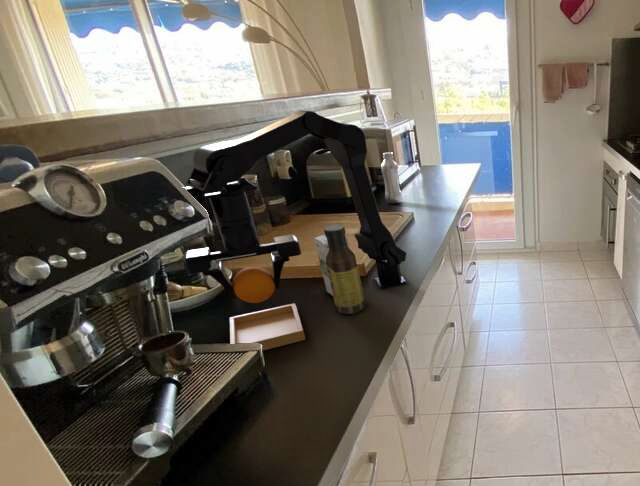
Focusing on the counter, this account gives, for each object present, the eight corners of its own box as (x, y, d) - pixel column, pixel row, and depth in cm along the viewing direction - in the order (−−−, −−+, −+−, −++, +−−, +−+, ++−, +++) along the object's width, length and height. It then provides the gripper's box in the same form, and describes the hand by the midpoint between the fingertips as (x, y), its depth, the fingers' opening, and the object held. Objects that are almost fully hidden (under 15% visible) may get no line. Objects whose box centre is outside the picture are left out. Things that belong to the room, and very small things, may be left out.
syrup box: (358, 292, 111) (348, 236, 104) (335, 300, 107) (323, 243, 100) (348, 285, 114) (337, 231, 108) (325, 292, 110) (313, 237, 104)
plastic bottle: (400, 205, 181) (394, 154, 172) (383, 205, 181) (376, 154, 173) (404, 201, 187) (398, 151, 178) (388, 200, 187) (381, 151, 178)
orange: (280, 303, 89) (271, 270, 86) (238, 312, 86) (227, 278, 82) (277, 290, 95) (268, 258, 91) (237, 298, 91) (227, 265, 88)
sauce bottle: (342, 302, 106) (326, 221, 97) (369, 302, 106) (355, 222, 97) (331, 315, 100) (313, 231, 91) (359, 316, 100) (343, 231, 91)
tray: (305, 339, 91) (303, 330, 90) (233, 358, 85) (230, 348, 84) (297, 311, 101) (295, 303, 100) (232, 326, 95) (229, 317, 94)
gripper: (285, 200, 93) (302, 269, 100) (175, 214, 84) (202, 288, 91) (292, 214, 84) (309, 288, 91) (170, 230, 76) (200, 310, 82)
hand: (256, 292), depth 89 cm, fingers closed on orange, 7 cm apart
